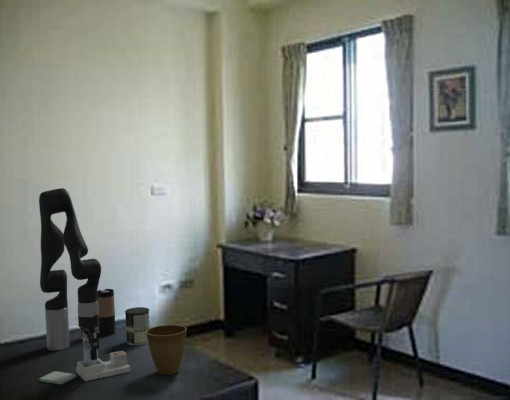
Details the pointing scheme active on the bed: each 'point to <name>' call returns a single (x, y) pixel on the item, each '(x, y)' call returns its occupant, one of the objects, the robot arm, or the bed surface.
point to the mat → (57, 377)
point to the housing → (104, 367)
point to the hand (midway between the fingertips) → (90, 356)
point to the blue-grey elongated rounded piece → (88, 356)
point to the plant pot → (167, 347)
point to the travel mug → (106, 312)
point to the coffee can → (137, 325)
